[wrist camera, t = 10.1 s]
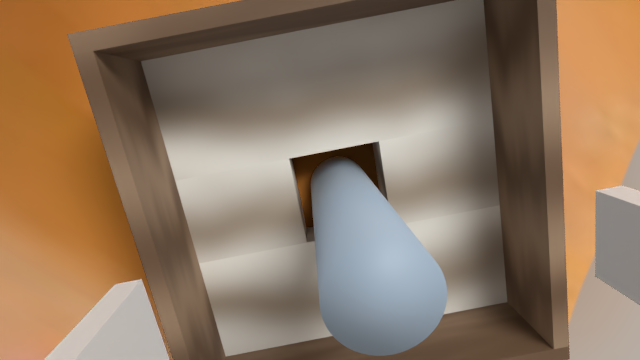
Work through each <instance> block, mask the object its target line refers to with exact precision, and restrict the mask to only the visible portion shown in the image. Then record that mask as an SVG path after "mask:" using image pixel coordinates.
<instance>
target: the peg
mask: <svg viewBox="0 0 640 360" xmlns="http://www.w3.org/2000/svg"><path fill="white" fill-rule="evenodd" d="M311 197H312V210H313V224H314V237H315V250H316V263H317V277H318V290H319V303H320V311H321V315H322V319H323V321H324V323H325V325H326V327H327V329H328V330H329V332H330V333H331V334H332V335H333V337H334V338H335V339H336V340H337V341H339V342H340V343H341V344H343V345H344V346H346V347H347V348H349V349H351V350H353V351H356V352H359V353H362V354H367V355H374V356H386V355H393V354H397V353H401V352H403V351H406V350H409V349H411V348H412V347H414V346H416V345H418V344H419V343H421V342H422V341H423V340H425V339H426V338H427V337H428V336H429V335H430V334H431V333H432V332H433V331H434V329H435V328H436V327H437V325H438V324H439V322H440V320H441V318H442V316H443V314H444V311H445V307H446V303H447V285H446V280H445V277H444V275H443V272H442V270H441V268H440V267H439V265H438V264H437V262H436V261H435V260H434V258H433V257H432V256H431V255H430V253H429V252H428V251H427V250H426V248H425V247H424V246H423V245H422V243H421V242H420V241H419V240H418V238H417V237H416V236H415V235H414V233H413V232H412V231H411V230H410V228H409V227H408V226H407V225H406V223H405V222H404V221H403V220H402V218H401V217H400V216H399V215H398V213H397V212H396V211H395V210H394V208H393V207H392V206H391V205H390V203H389V202H388V201H387V200H386V198H385V197H384V196H383V195H382V193H381V192H380V191H379V190H378V188H377V187H376V186H375V185H374V183H373V182H372V181H371V180H370V178H369V177H368V176H367V175H366V173H365V172H364V171H363V170H362V168H361V167H360V166H359V165H358V164H357V163H356V162H355V161H353V160H351V159H349V158H346V157H341V156H337V157H331V158H328V159H326V160H324V161H323V162H321V163H320V164H319V165H318V166H317V167H316V168H315V170H314V172H313V174H312V177H311Z"/></svg>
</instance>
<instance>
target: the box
mask: <svg viewBox="0 0 640 360" xmlns="http://www.w3.org/2000/svg"><path fill="white" fill-rule="evenodd" d="M67 35H68V38H69V41H70V44H71V47H72V50H73V54H74V57H75V60H76V63H77V66H78V69H79V72H80V75H81V78H82V81H83V84H84V87H85V90H86V93H87V96H88V99H89V103H90V106H91V109H92V112H93V115H94V118H95V121H96V124H97V127H98V130H99V133H100V136H101V139H102V142H103V145H104V149H105V152H106V155H107V158H108V161H109V164H110V167H111V170H112V173H113V176H114V179H115V182H116V185H117V188H118V191H119V194H120V198H121V201H122V204H123V207H124V210H125V213H126V216H127V219H128V222H129V225H130V228H131V231H132V234H133V237H134V240H135V244H136V247H137V250H138V253H139V256H140V259H141V262H142V265H143V268H144V271H145V274H146V277H147V280H148V283H149V286H150V289H151V293H152V296H153V299H154V302H155V305H156V308H157V311H158V314H159V317H160V320H161V323H162V326H163V329H164V332H165V335H166V339H167V342H168V345H169V348H170V351H171V354H172V357H173V360H568V359H569V332H568V305H567V278H566V251H565V224H564V197H563V170H562V143H561V117H560V90H559V63H558V36H557V9H556V0H241V1H236V2H231V3H226V4H221V5H216V6H211V7H205V8H200V9H195V10H190V11H185V12H180V13H174V14H169V15H164V16H159V17H154V18H149V19H144V20H138V21H133V22H128V23H123V24H118V25H113V26H107V27H102V28H97V29H92V30H87V31H82V32H77V33H71V34H67ZM368 143H372V146H373V152H374V158H375V165H376V171H377V178H378V184H379V190H380V192H381V193H382V195H383V196H384V197H385V198H386V200H387V201H388V202H389V203H390V205H391V206H392V207H393V208H394V210H395V211H396V212H397V213H398V215H399V216H400V217H401V218H402V220H403V221H404V222H405V223H406V225H407V226H408V227H409V228H410V230H411V231H412V232H413V233H414V235H415V236H416V237H417V238H418V240H419V241H420V242H421V243H422V245H423V246H424V247H425V248H426V250H427V251H428V252H429V253H430V255H431V256H432V257H433V258H434V260H435V261H436V262H437V264H438V265H439V267H440V268H441V270H442V272H443V275H444V277H445V280H446V285H447V303H446V307H445V311H444V314H443V316H442V318H441V320H440V322H439V324H438V325H437V327H436V328H435V329H434V331H433V332H432V333H431V334H430V335H429V336H428V337H427V338H426V339H425V340H423V341H422V342H421V343H419V344H418V345H416V346H414V347H412V348H411V349H409V350H406V351H403V352H401V353H397V354H393V355H386V356H374V355H367V354H362V353H359V352H356V351H353V350H351V349H349V348H347V347H346V346H344V345H343V344H341V343H340V342H339V341H337V340H336V339H335V338H334V337H333V335H332V334H331V333H330V332H329V330H328V329H327V327H326V325H325V323H324V321H323V319H322V315H321V311H320V303H319V290H318V277H317V263H316V250H315V237H314V227H309V228H306V223H305V218H304V214H303V209H302V204H301V199H300V194H299V190H298V185H297V180H296V175H295V170H294V166H293V161H292V158H295V157H300V156H306V155H311V154H316V153H321V152H326V151H331V150H337V149H342V148H347V147H352V146H357V145H362V144H368Z"/></svg>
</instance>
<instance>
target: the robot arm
mask: <svg viewBox="0 0 640 360" xmlns="http://www.w3.org/2000/svg"><path fill="white" fill-rule="evenodd" d="M595 264H596V265H595V266H596V267H595V269H596V270H595V273H596V274H595V276H596V277H597V278H599V279H600V280H602V281H603V282H605V283H606V284H608V285H609V286H611V287H613V288H614V289H616V290H617V291H619V292H620V293H622V294H623V295H625V296H627V297H628V298H630V299H631V300H633V301H634V302H636V303H637V304H639V305H640V191H638V190H635V189H632V188H628V187H625V186H617V187H612V188H607V189H602V190H596V263H595ZM44 360H170V359H169V356H168V354H167V351H166V348H165V345H164V342H163V339H162V336H161V333H160V330H159V328H158V325H157V322H156V319H155V316H154V313H153V310H152V307H151V304H150V302H149V299H148V296H147V293H146V290H145V287H144V284H143V281H142V279H140V280H134V281H129V282H124V283H119V284H115V285H114V286H113V287H112V288H111V289H110V290H109V291H108V292H107V293H106V294H105V296H104V297H103V298H102V299H101V300H100V301H99V302H98V303H97V304H96V305H95V306H94V307H93V308H92V309H91V310H90V311H89V312H88V314H87V315H86V316H85V317H84V318H83V319H82V320H81V321H80V322H79V323H78V324H77V325H76V326H75V327H74V328H73V329H72V330H71V332H70V333H69V334H68V335H67V336H66V337H65V338H64V339H63V340H62V341H61V342H60V343H59V344H58V345H57V346H56V347H55V348H54V350H53V351H52V352H51V353H50V354H49V355H48V356H47V357H46V358H45V359H44Z"/></svg>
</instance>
